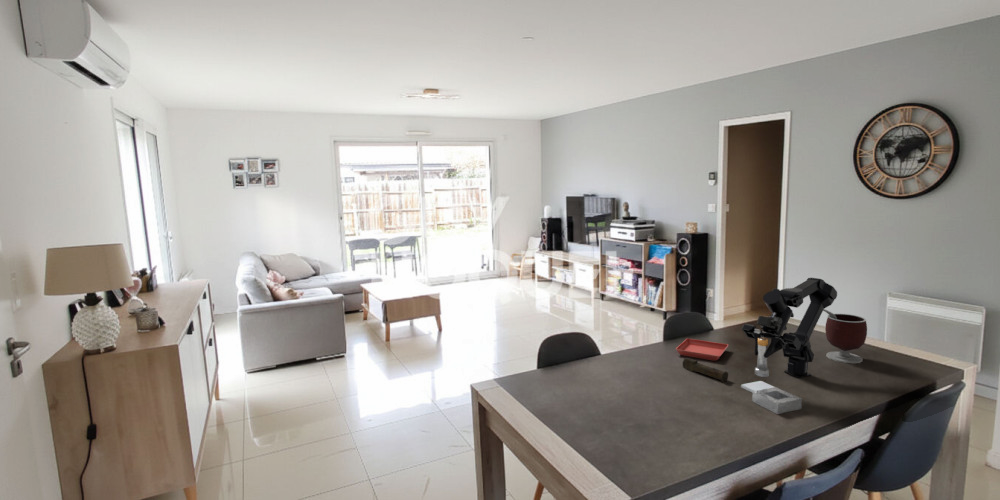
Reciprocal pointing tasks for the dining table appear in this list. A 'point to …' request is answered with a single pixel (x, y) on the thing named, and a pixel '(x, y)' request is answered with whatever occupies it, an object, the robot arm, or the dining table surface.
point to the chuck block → (777, 400)
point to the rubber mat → (756, 386)
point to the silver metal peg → (762, 358)
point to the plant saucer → (701, 349)
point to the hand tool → (704, 369)
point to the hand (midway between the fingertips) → (760, 356)
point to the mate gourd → (845, 336)
